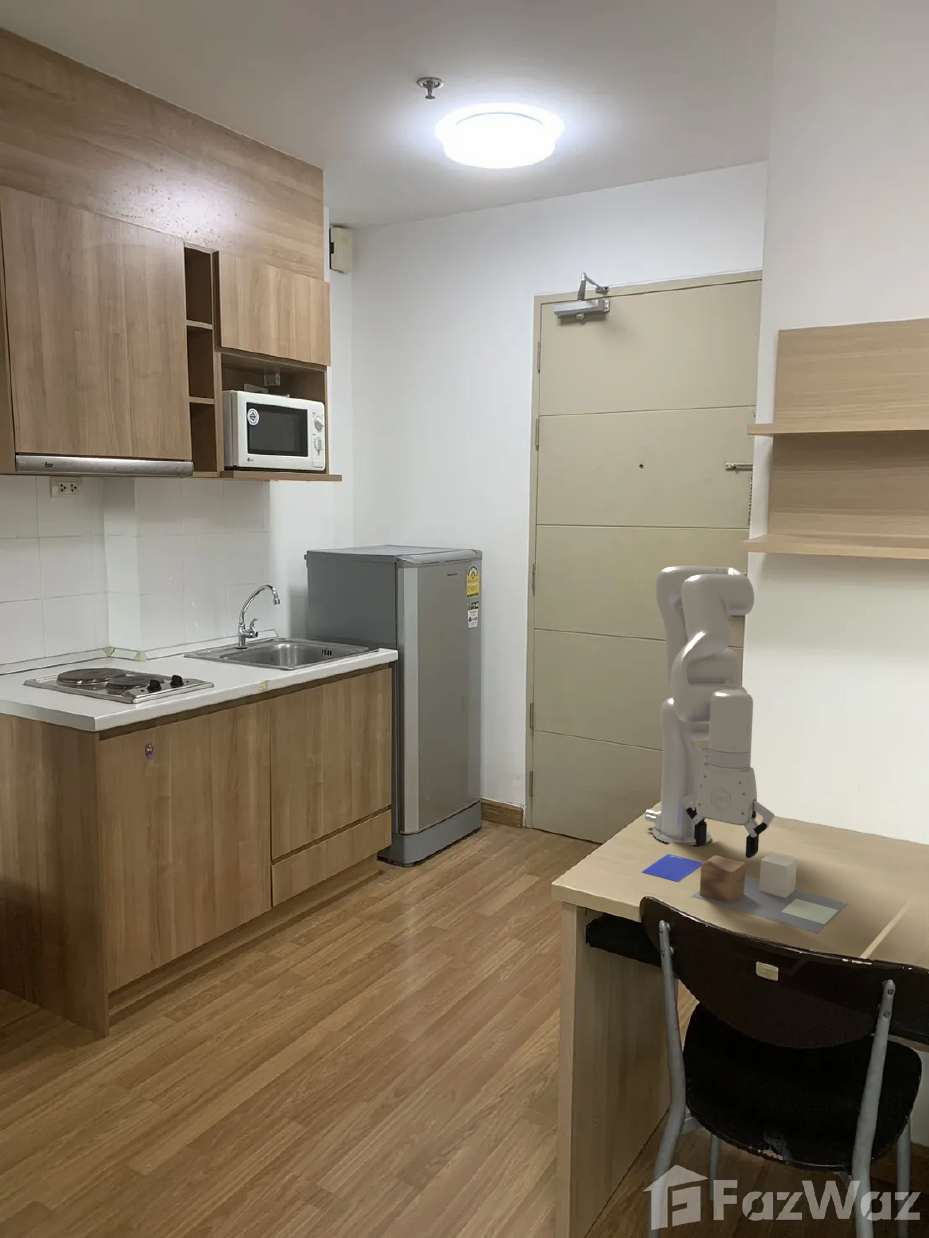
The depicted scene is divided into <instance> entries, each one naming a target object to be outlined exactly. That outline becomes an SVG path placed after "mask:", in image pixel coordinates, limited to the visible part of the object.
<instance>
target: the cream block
mask: <svg viewBox="0 0 929 1238" xmlns="http://www.w3.org/2000/svg"><path fill="white" fill-rule="evenodd" d="M797 863H798V859H797V858H794V857H790V856H785V855H781V854H777V853H773V852H769V853H768V854H767V855H766V856H765V857H762V858H761V859H760V868H759V880H760V883H759V891H762V892H766V893H769V894H773V895H777V896H780V897H784V898H786V897H787V896H788V895H790V894H791V893H792V892H793V891H794V890H796V883H797V868H798V865H797Z"/></svg>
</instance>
